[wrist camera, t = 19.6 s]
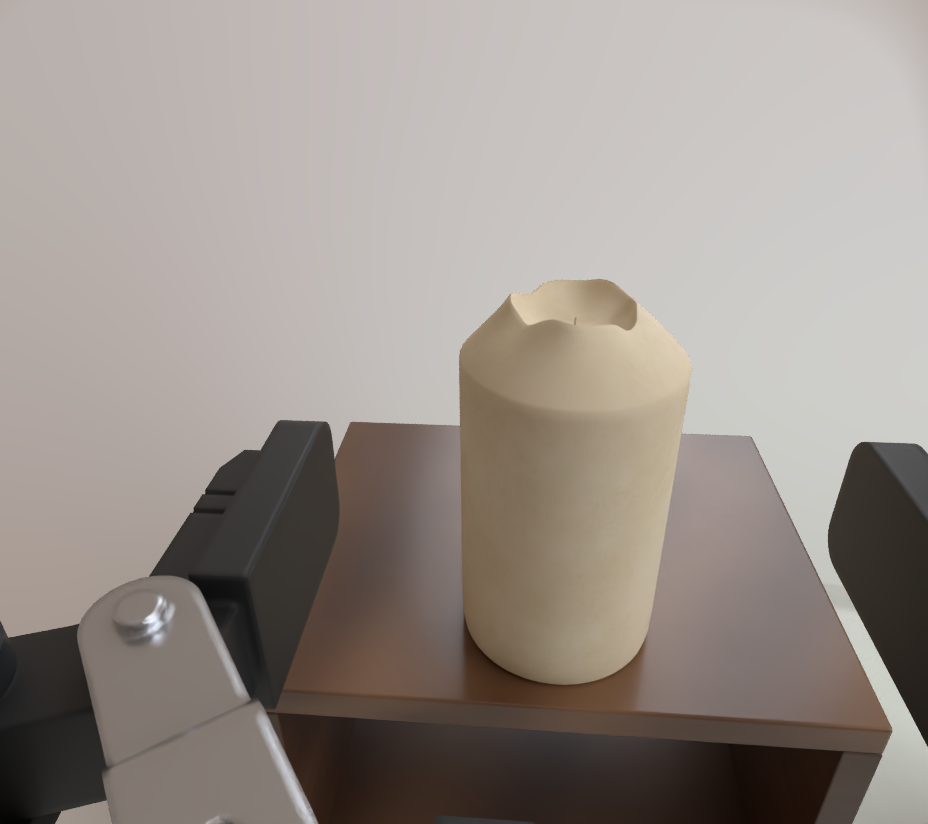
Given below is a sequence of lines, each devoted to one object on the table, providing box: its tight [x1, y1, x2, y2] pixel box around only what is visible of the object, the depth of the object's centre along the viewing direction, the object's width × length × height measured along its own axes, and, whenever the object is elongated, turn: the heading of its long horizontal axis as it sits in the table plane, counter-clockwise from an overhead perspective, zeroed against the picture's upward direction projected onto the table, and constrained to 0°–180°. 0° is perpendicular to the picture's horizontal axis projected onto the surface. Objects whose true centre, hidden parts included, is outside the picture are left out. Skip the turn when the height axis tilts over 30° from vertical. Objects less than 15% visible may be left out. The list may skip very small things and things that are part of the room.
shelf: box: [265, 422, 892, 824], centre depth 28 cm, size 17×14×11 cm
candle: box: [459, 279, 692, 685], centre depth 19 cm, size 6×6×10 cm
